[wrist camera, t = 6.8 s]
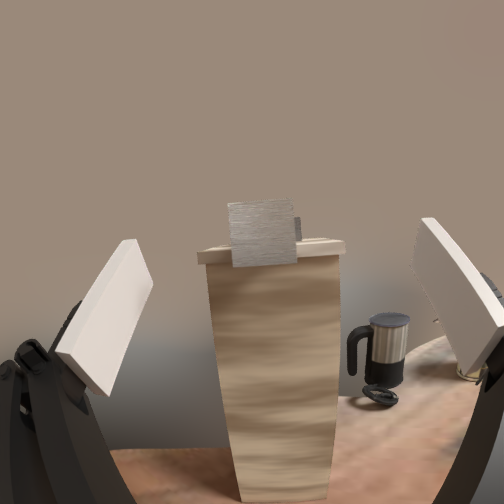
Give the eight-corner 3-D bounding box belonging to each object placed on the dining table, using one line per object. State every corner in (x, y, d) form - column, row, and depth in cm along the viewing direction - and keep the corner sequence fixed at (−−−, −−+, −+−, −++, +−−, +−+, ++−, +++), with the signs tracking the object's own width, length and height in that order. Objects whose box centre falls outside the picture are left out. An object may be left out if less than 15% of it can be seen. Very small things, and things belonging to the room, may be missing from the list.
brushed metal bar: (247, 242, 35) (245, 213, 34) (297, 239, 34) (295, 209, 34) (187, 270, 11) (180, 178, 11) (344, 259, 10) (336, 164, 10)
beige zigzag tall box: (246, 451, 37) (223, 244, 35) (321, 447, 36) (321, 237, 34) (237, 504, 25) (197, 252, 23) (330, 500, 24) (345, 241, 22)
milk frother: (389, 366, 59) (393, 309, 58) (429, 393, 44) (440, 327, 43) (338, 381, 57) (340, 321, 56) (373, 417, 41) (382, 346, 40)
